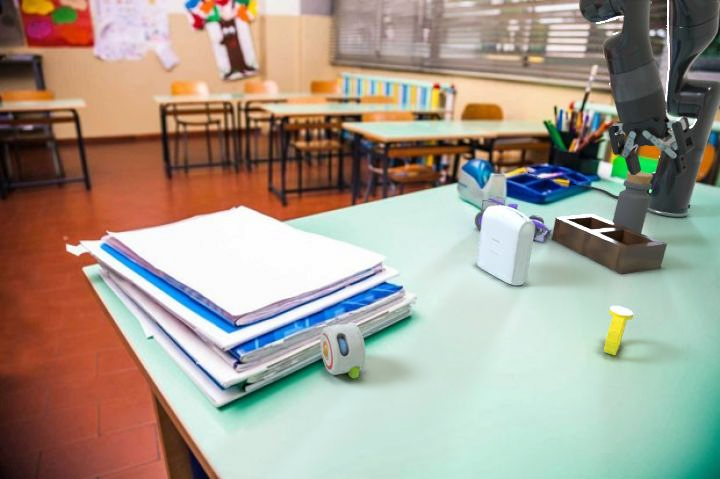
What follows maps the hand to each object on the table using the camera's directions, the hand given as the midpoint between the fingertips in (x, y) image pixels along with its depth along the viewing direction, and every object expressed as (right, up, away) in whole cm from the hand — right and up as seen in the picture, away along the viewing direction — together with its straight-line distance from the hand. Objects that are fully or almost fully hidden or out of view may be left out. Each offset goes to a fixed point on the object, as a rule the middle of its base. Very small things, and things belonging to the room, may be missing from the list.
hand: (657, 173), depth 91 cm
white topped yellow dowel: (-21, -27, -25) cm, 43 cm away
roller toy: (-57, -28, -31) cm, 71 cm away
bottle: (+2, -13, +16) cm, 20 cm away
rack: (-6, -15, +9) cm, 18 cm away
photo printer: (-30, -19, -3) cm, 35 cm away
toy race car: (-21, -10, +19) cm, 30 cm away
